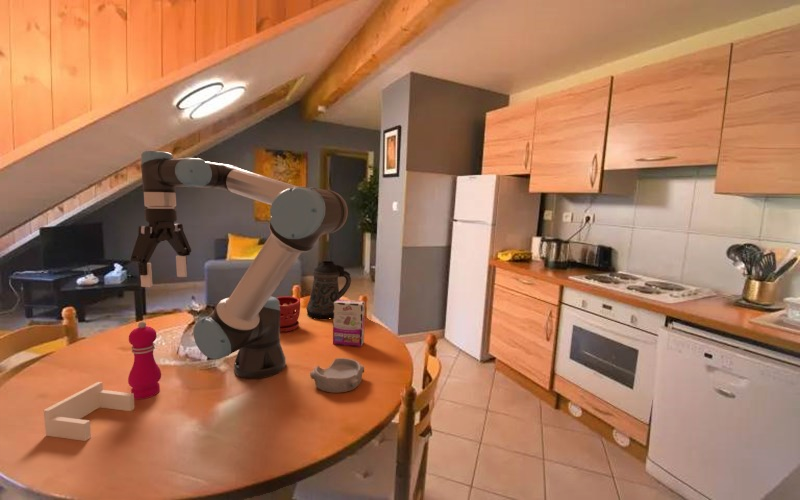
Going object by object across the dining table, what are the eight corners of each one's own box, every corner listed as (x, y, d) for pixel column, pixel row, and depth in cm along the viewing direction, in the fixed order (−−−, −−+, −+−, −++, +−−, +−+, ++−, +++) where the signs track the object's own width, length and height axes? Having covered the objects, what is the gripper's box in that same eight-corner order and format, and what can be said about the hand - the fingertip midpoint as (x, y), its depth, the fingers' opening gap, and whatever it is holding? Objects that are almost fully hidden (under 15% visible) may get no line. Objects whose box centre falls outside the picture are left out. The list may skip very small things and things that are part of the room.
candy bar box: (364, 342, 138) (365, 300, 135) (361, 347, 133) (362, 304, 130) (336, 339, 139) (337, 298, 137) (332, 344, 134) (333, 302, 132)
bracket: (134, 408, 89) (133, 385, 88) (85, 441, 77) (83, 415, 76) (99, 404, 90) (98, 381, 89) (45, 435, 78) (43, 410, 77)
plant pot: (276, 321, 155) (276, 294, 154) (304, 324, 153) (305, 297, 152) (260, 332, 142) (260, 303, 141) (291, 335, 141) (291, 306, 139)
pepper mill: (145, 402, 92) (141, 327, 89) (121, 397, 93) (117, 324, 91) (168, 388, 99) (165, 318, 96) (146, 384, 100) (142, 315, 98)
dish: (305, 388, 103) (305, 372, 102) (330, 368, 116) (330, 353, 115) (350, 400, 98) (350, 383, 97) (371, 377, 111) (371, 362, 110)
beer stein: (299, 313, 167) (299, 261, 164) (331, 305, 182) (333, 257, 179) (321, 322, 157) (322, 266, 153) (354, 313, 171) (355, 262, 168)
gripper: (179, 207, 114) (183, 272, 116) (108, 207, 89) (115, 291, 92) (201, 207, 113) (205, 273, 116) (136, 208, 88) (142, 292, 91)
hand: (165, 281), depth 104 cm, fingers open, 13 cm apart
